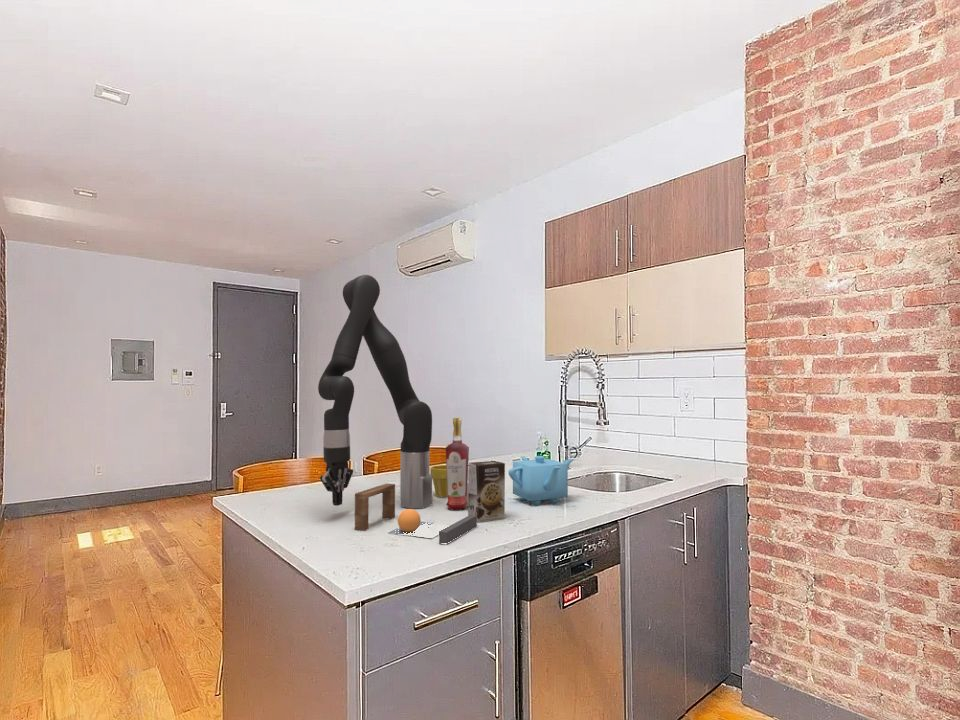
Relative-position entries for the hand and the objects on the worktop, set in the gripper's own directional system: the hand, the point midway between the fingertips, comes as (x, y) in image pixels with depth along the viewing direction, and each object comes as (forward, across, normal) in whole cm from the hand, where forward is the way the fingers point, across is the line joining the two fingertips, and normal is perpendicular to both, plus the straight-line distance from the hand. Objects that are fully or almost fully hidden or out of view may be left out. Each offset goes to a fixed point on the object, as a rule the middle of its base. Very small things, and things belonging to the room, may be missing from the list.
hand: (337, 504), depth 161 cm
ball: (+1, -4, -26) cm, 26 cm away
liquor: (+5, +24, -27) cm, 36 cm away
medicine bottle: (+5, +34, -28) cm, 45 cm away
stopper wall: (+4, -1, -39) cm, 39 cm away
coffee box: (+5, +17, -40) cm, 43 cm away
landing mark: (+4, -1, -28) cm, 28 cm away
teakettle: (+5, +45, -48) cm, 66 cm away
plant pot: (+5, +40, -15) cm, 43 cm away
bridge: (+4, 0, -13) cm, 14 cm away
